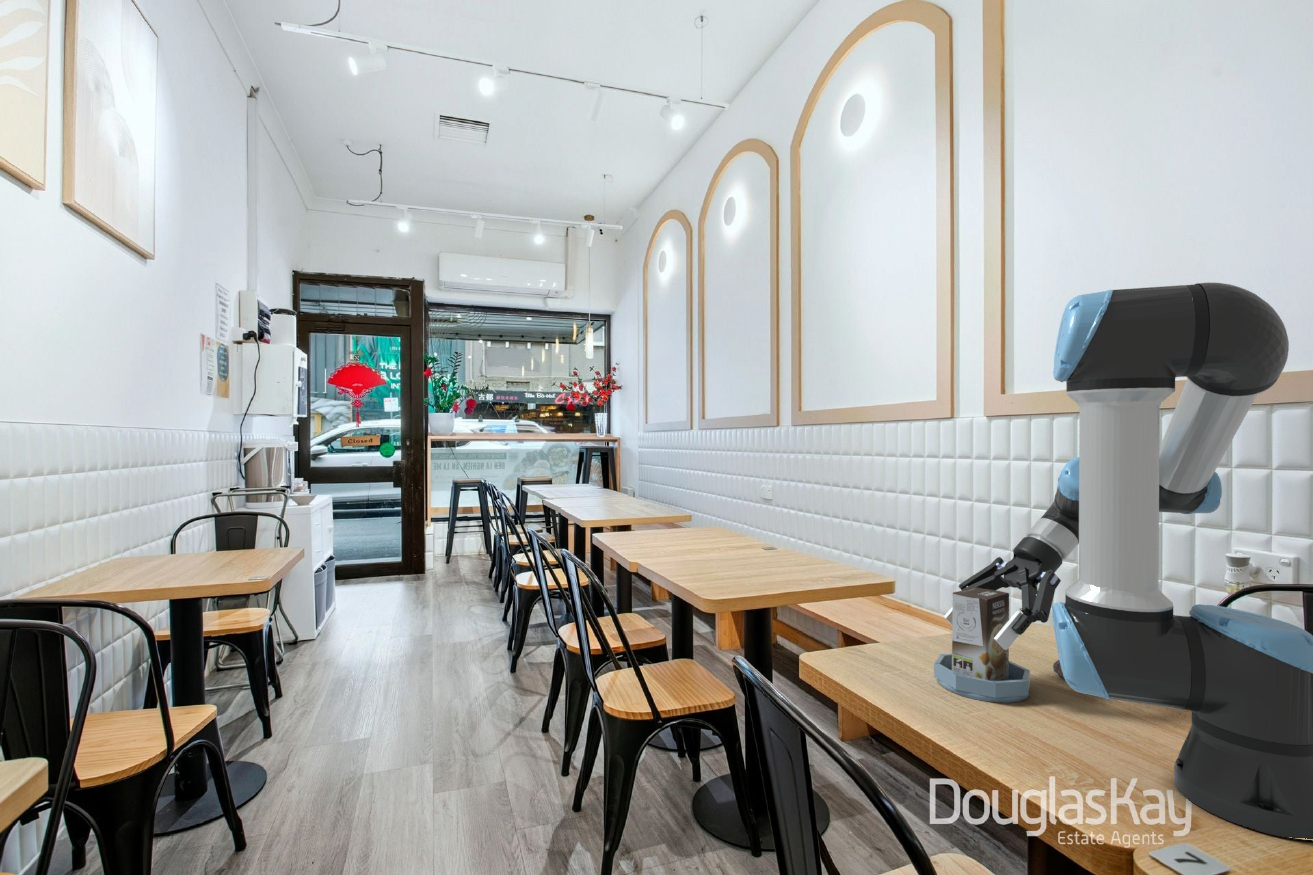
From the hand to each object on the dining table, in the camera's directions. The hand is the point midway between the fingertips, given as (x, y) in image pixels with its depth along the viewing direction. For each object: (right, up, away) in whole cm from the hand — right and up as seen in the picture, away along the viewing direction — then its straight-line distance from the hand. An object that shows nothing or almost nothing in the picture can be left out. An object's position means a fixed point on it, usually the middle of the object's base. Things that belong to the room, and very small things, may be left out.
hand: (972, 632), depth 114 cm
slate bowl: (+2, -10, 0) cm, 10 cm away
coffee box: (+2, -9, 0) cm, 9 cm away
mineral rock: (+24, -10, +6) cm, 27 cm away
